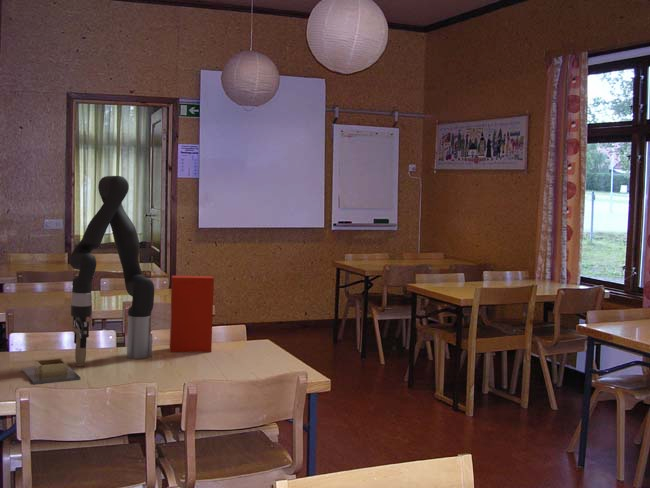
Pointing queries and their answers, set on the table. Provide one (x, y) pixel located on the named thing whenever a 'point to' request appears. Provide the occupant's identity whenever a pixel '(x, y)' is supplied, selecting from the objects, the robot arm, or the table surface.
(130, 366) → the table surface
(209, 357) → the table surface
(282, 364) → the table surface
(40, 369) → the square socket base
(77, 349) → the handle
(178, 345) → the red rectangular box
